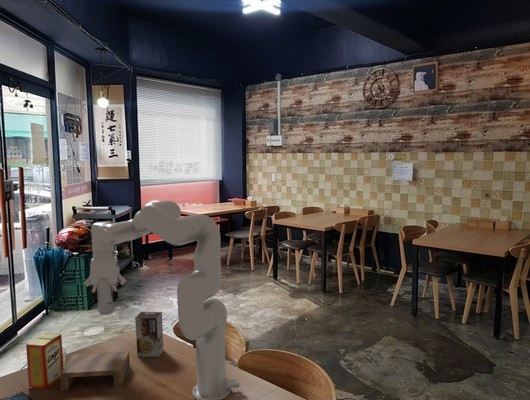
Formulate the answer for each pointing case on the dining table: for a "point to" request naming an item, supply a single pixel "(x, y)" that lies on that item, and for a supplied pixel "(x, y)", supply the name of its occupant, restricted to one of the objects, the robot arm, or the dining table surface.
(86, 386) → the dining table surface
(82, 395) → the dining table surface
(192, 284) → the robot arm
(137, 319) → the coffee box
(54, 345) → the baking soda box
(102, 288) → the energy drink can
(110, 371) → the walnut stand
